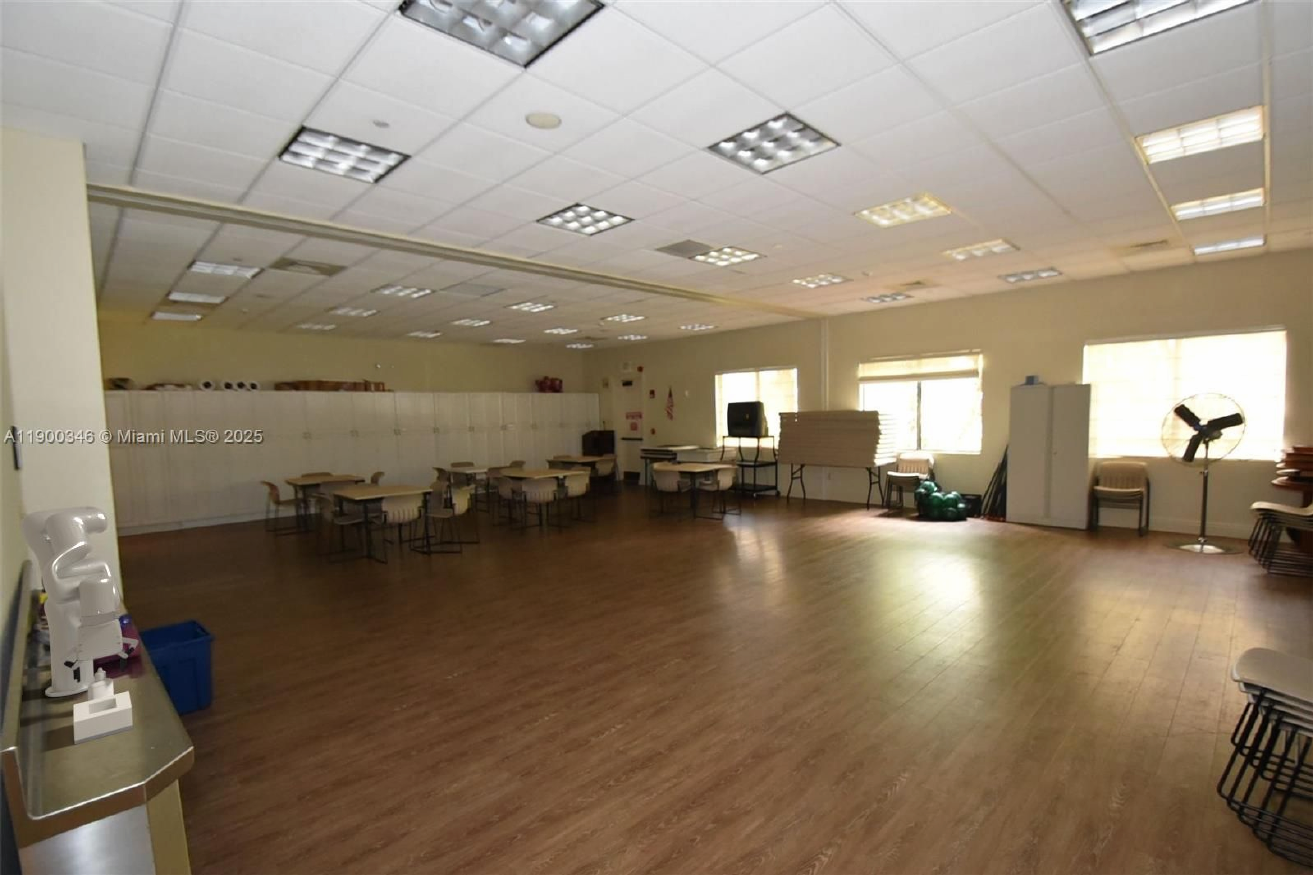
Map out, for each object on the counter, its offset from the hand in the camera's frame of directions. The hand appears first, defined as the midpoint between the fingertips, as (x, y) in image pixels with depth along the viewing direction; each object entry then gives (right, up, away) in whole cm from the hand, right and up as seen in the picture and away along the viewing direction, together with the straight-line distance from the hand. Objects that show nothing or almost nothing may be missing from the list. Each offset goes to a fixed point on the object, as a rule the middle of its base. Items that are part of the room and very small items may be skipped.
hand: (101, 676), depth 178 cm
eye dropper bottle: (-1, -10, +1) cm, 10 cm away
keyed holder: (+11, -10, -11) cm, 18 cm away
